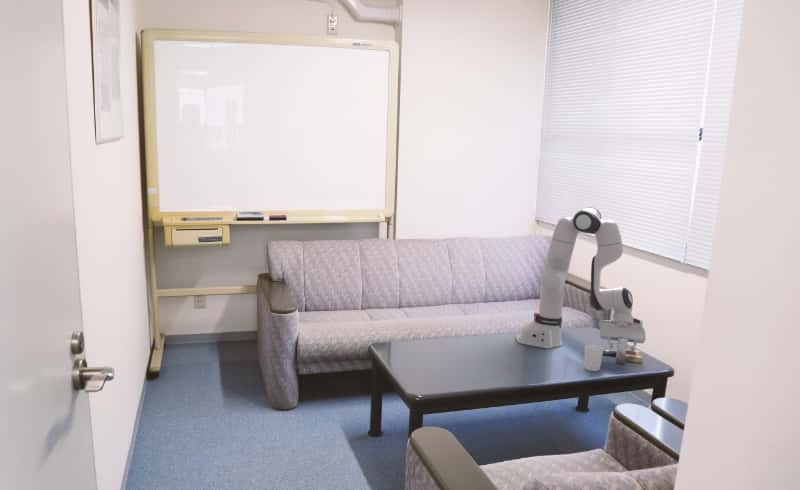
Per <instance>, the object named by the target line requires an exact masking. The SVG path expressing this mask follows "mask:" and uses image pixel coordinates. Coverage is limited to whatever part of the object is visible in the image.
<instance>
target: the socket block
mask: <svg viewBox="0 0 800 490" xmlns="http://www.w3.org/2000/svg"><path fill="white" fill-rule="evenodd" d="M625 362H632V363H637V364H638V363H639V364H642V363H643V356H642V353H641V351H640V350H636V349H635V350H634V351H632V350H631V348H630V349H629V348H626V356H625Z"/></svg>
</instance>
